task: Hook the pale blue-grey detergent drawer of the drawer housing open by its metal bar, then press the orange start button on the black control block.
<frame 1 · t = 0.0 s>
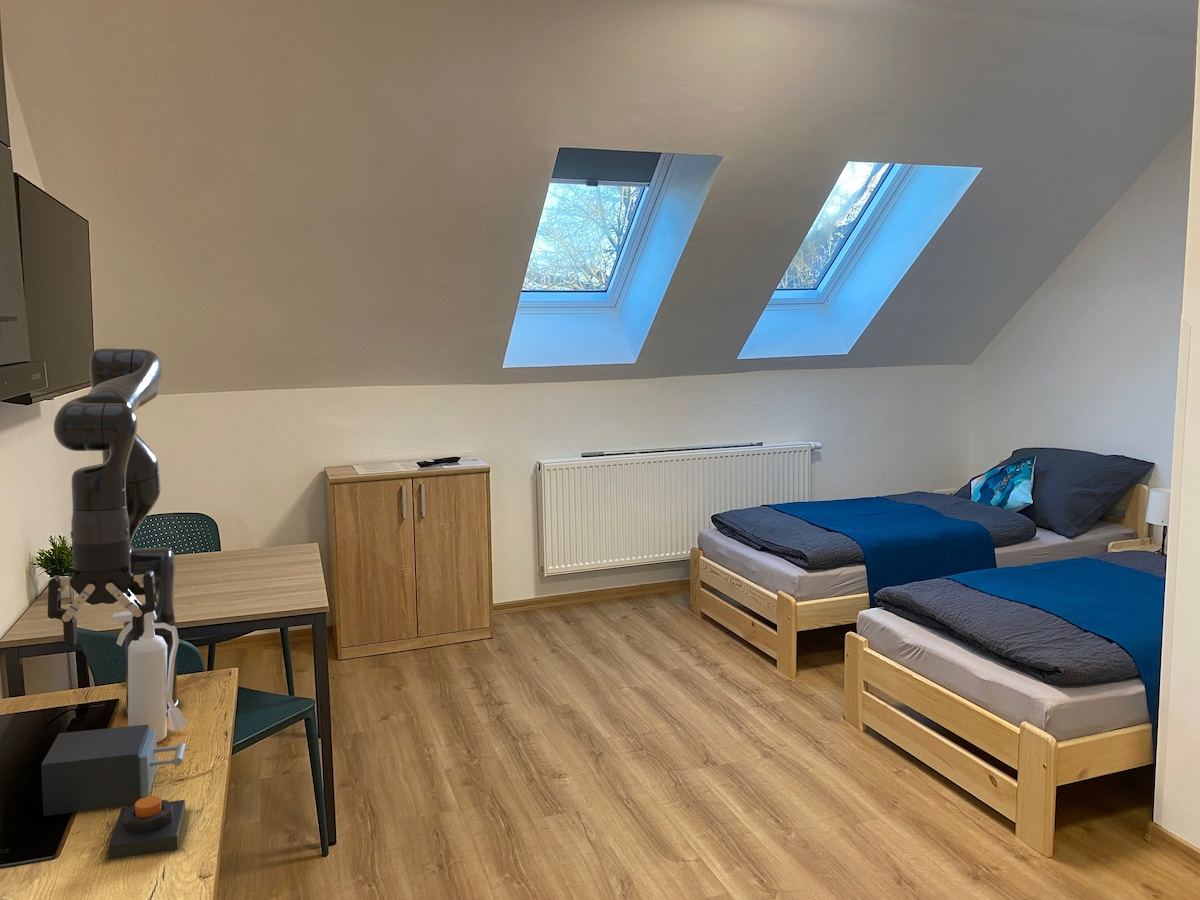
hand: (105, 641, 135), 29 cm above the kitchen counter, tool pointing down, fingers open, 8 cm apart
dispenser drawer: (127, 764, 149), point 4 cm above the kitchen counter, slide at 0.0 cm
start button: (148, 807, 135), point 4 cm above the kitchen counter, slide at 0.1 cm
drawer housing: (99, 792, 148), on the kitchen counter
control block: (149, 834, 136), on the kitchen counter
fire extinguisher: (153, 738, 168), on the kitchen counter
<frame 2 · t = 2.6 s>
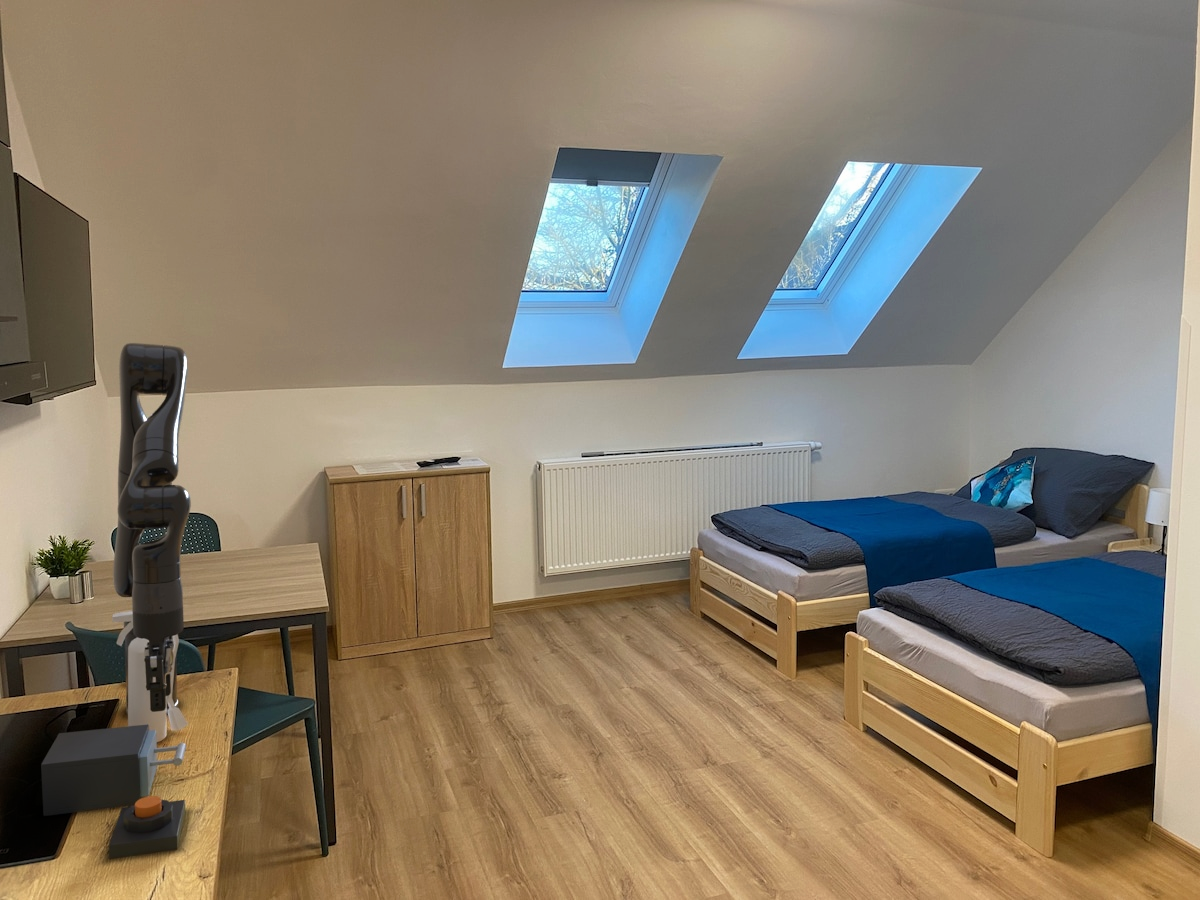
hand: (161, 702, 149), 15 cm above the kitchen counter, tool pointing down, fingers open, 6 cm apart
nothing on the kitchen counter moved.
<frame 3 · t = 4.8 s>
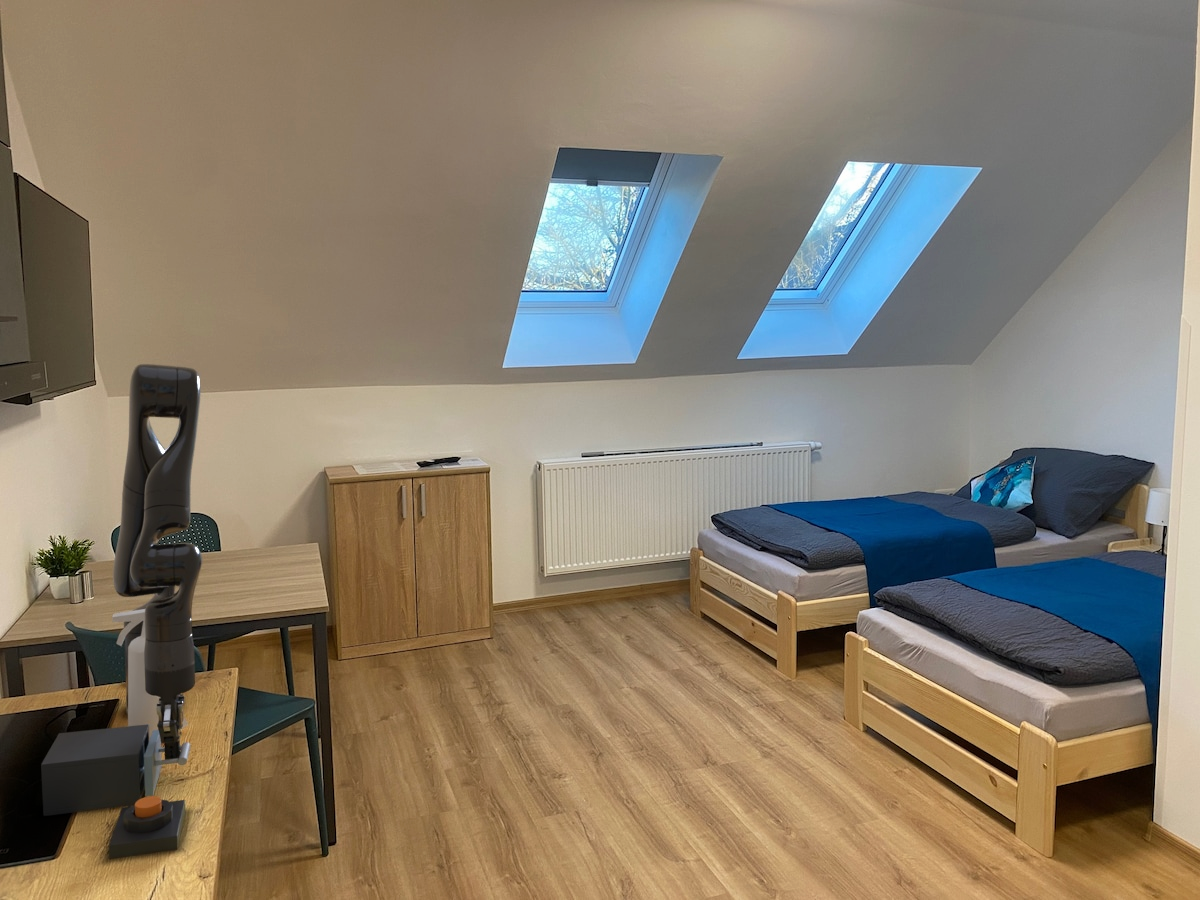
hand: (172, 760, 151), 4 cm above the kitchen counter, tool pointing down, fingers closed
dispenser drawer: (131, 764, 149), point 4 cm above the kitchen counter, slide at 0.7 cm, touching gripper
everything else where it was.
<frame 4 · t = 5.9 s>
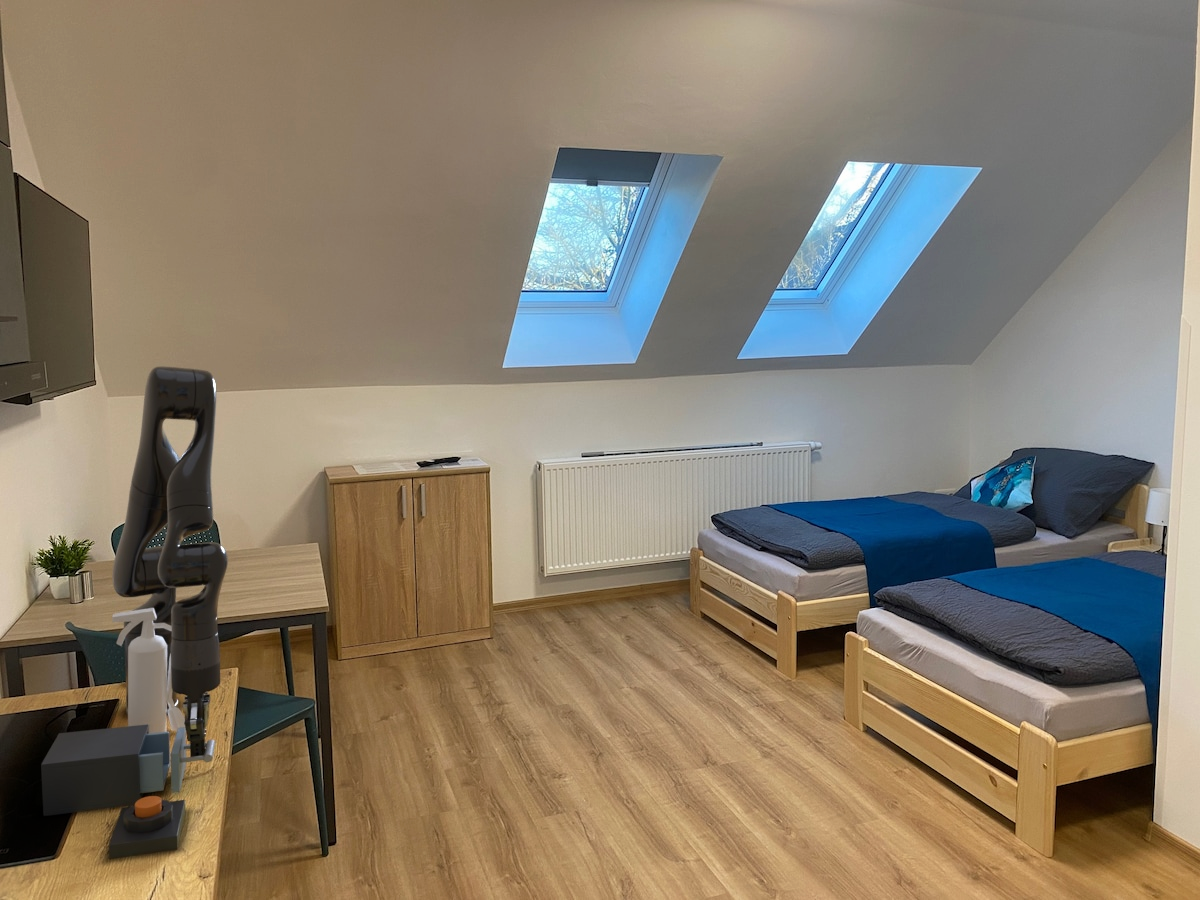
hand: (198, 758, 152), 4 cm above the kitchen counter, tool pointing down, fingers closed
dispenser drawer: (157, 761, 150), point 4 cm above the kitchen counter, slide at 4.6 cm
everything else where it was.
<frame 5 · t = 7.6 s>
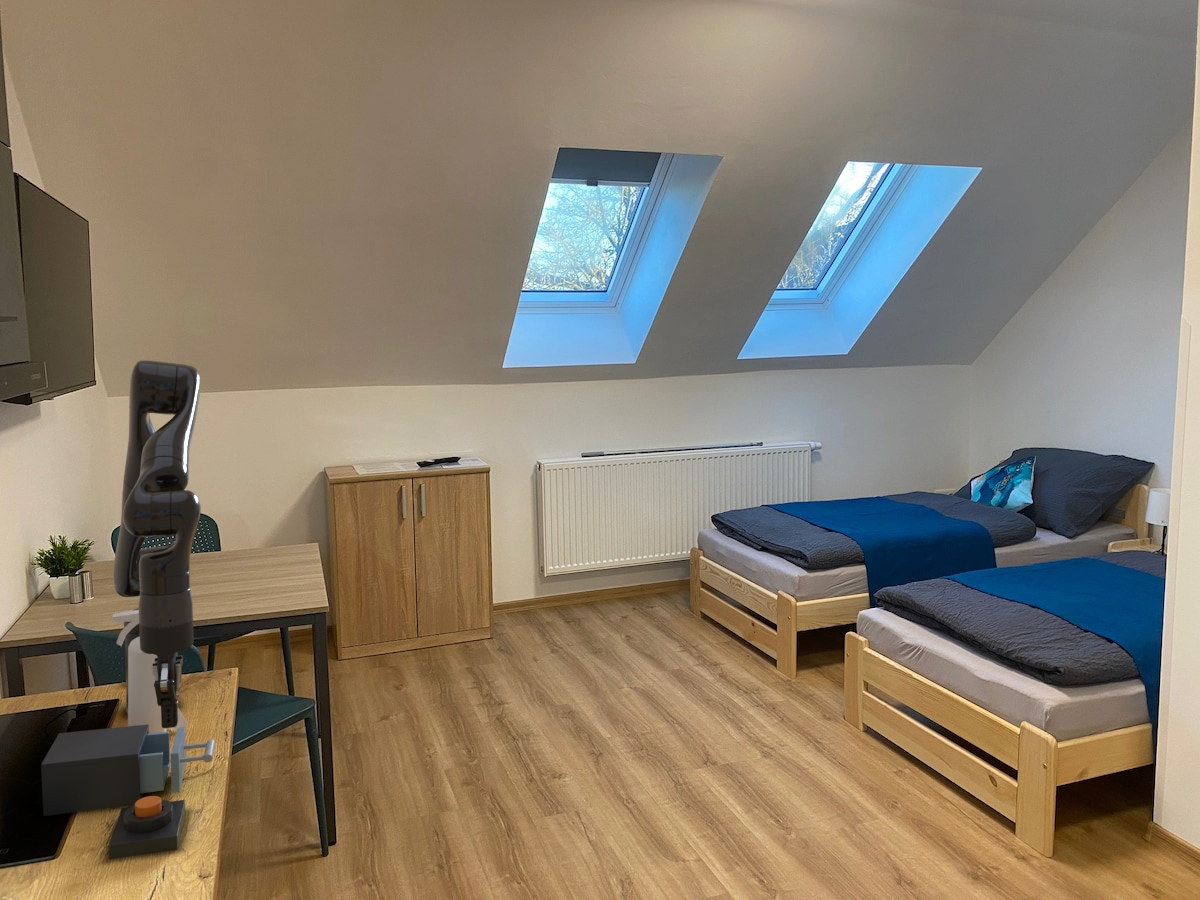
hand: (169, 725, 140), 15 cm above the kitchen counter, tool pointing down, fingers closed
nothing on the kitchen counter moved.
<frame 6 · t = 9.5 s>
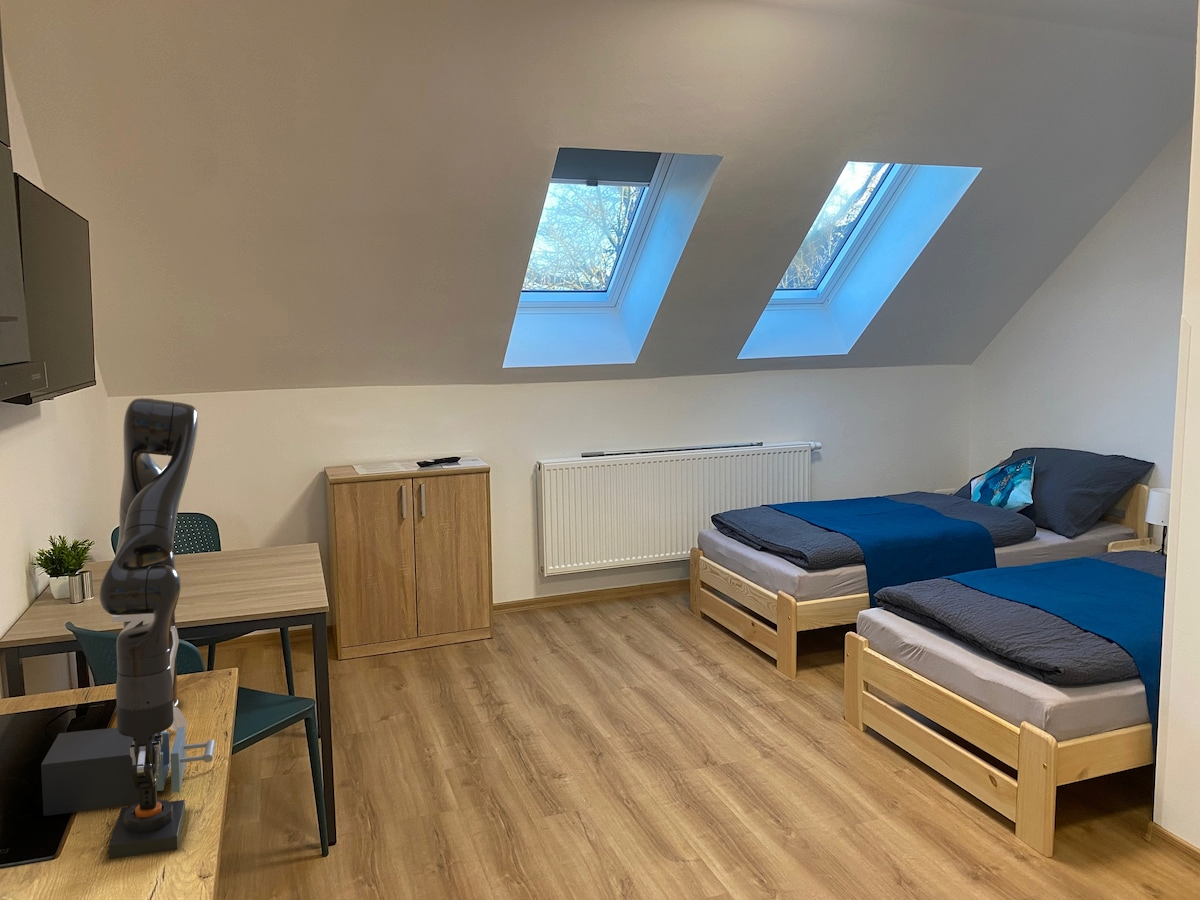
hand: (148, 806, 135), 5 cm above the kitchen counter, tool pointing down, fingers closed
start button: (148, 812, 135), point 4 cm above the kitchen counter, slide at -0.7 cm, touching gripper
everything else where it was.
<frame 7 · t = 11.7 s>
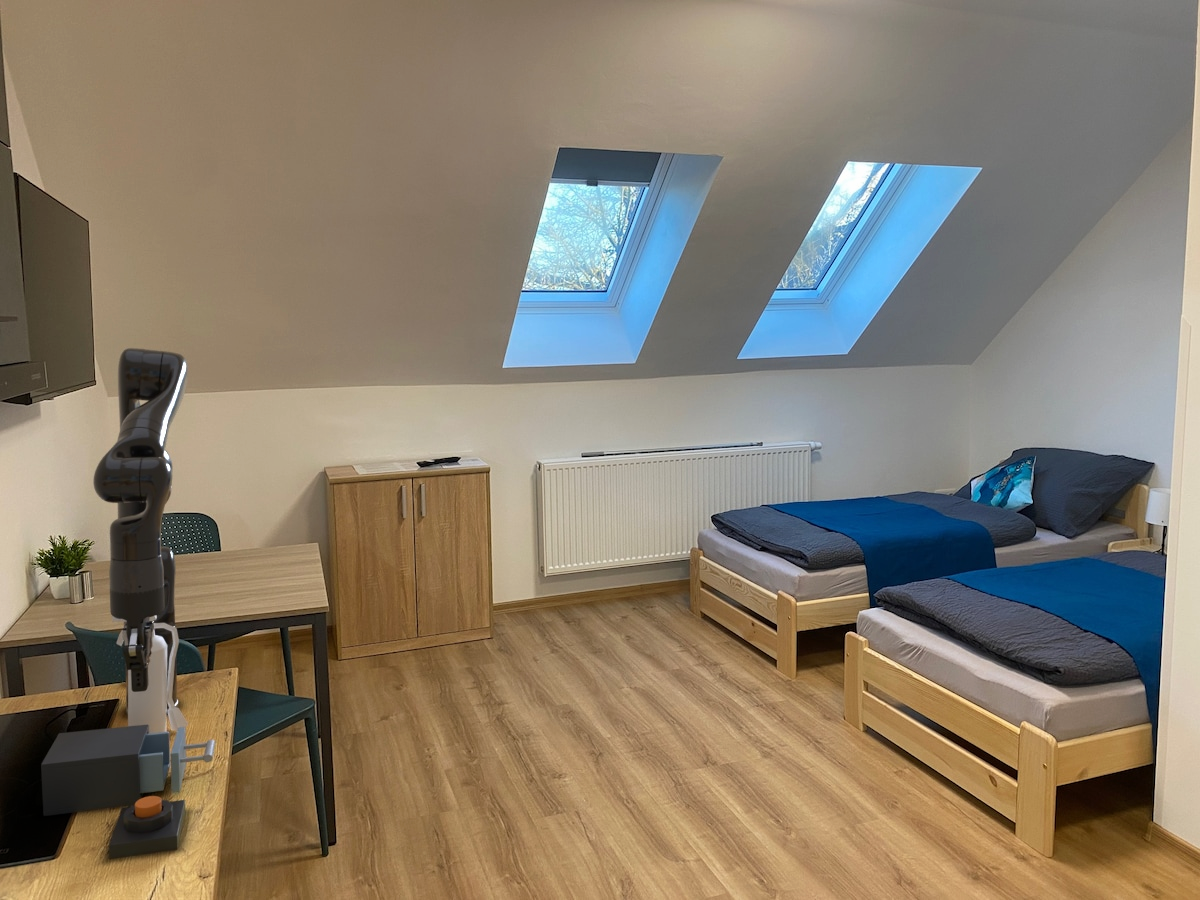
hand: (140, 689, 141), 20 cm above the kitchen counter, tool pointing down, fingers closed
start button: (148, 807, 135), point 4 cm above the kitchen counter, slide at 0.1 cm
everything else where it was.
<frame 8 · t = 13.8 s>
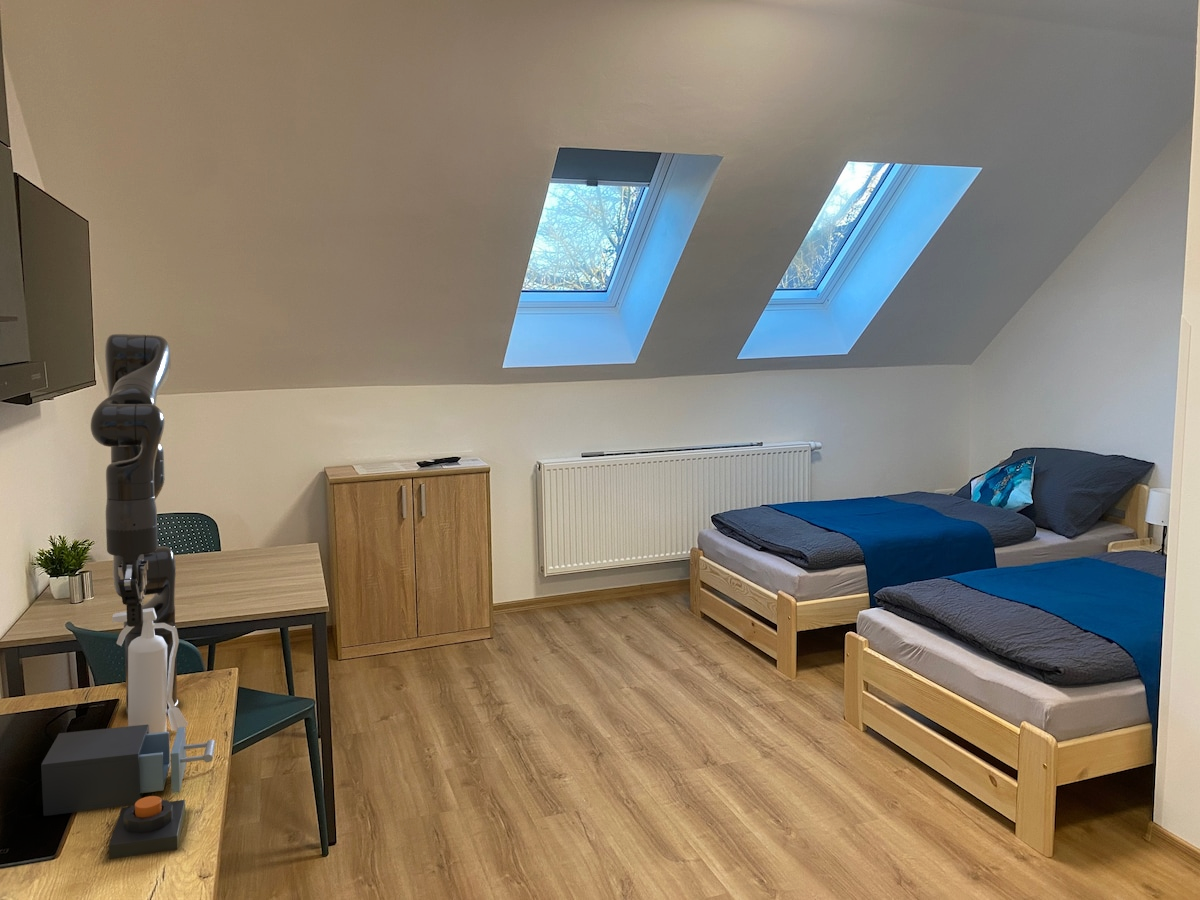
hand: (135, 624, 150), 27 cm above the kitchen counter, tool pointing down, fingers closed
nothing on the kitchen counter moved.
at the end: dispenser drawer slide at 4.6 cm; start button pushed in 1.1 cm at the most during the clip and back out by the end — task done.
